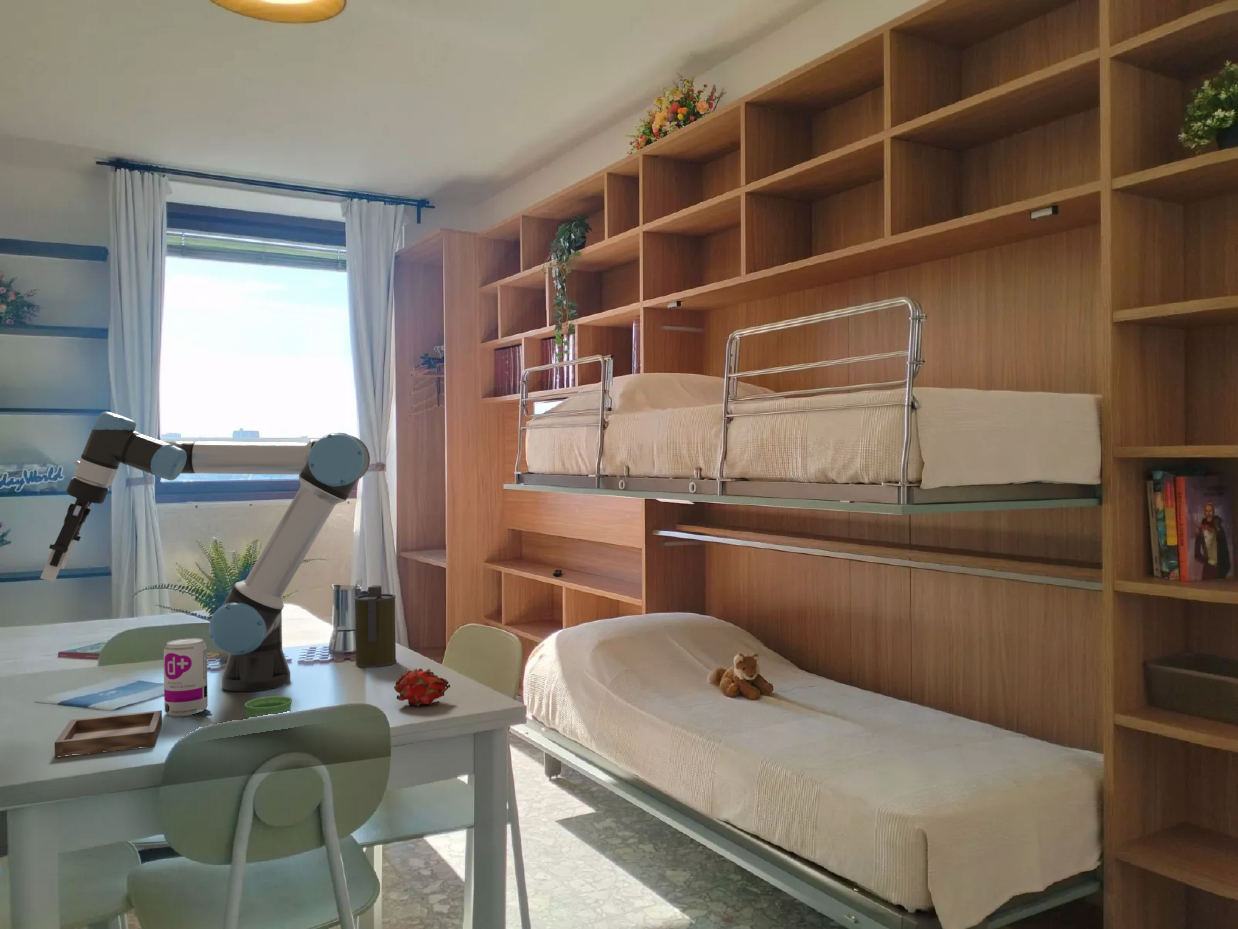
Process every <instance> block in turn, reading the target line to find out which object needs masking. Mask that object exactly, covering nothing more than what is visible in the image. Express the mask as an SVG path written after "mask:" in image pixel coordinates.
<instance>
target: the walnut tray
mask: <svg viewBox="0 0 1238 929" xmlns="http://www.w3.org/2000/svg"><path fill="white" fill-rule="evenodd" d="M162 726H163V710H151V711H142V712H132V713H123V714H112V715H103V716H95V717H83V718H76V719H70V720H69V721H68V723H67V725H66V726H65V727H64V729H63V730H62V731H61V733H60V734H59V735H58V737H57V739H56V740H55V741H54V758H55V757H58V756H65V755H72V754H87V755H89V754H88V753H96V754H98V753H97V752H103V751H113V752H117V751H116V750H121V751H125V750H124V749H130V750H134V749H133V748H138V749H140V748H139V747H147V748H153V747H156V744H157V740H158V737H159V735H160V732H161V729H162Z"/></svg>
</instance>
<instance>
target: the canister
mask: <svg viewBox="0 0 1238 929" xmlns="http://www.w3.org/2000/svg"><path fill="white" fill-rule="evenodd" d="M382 591H383V590H382V585H379V584H378V585H371V586H368V587H367V590H366V592H365V594H361V595H357V596H355V597H354V604H355V605H354V608H355V611H354V612H355V614H354V615H355V666H357V667H361V668H368V669H369V668H382V667H388V666H392V665H394V664H396V663H397V658H396V657H397V656H396V655H397V654H396V653H397V652H396V651H397V650H396V649H397V648H396V647H397V646H396V644H397V643H396V594H391V593H382Z"/></svg>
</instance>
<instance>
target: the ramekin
mask: <svg viewBox="0 0 1238 929" xmlns="http://www.w3.org/2000/svg"><path fill="white" fill-rule="evenodd" d="M292 703H293V700H292V698H291V697H288V696H286V695H285V696H284V695H271V696H270V695H269V696H263V697H258V698H253V699H250V700H247V702H245V703H244V709H245V714H246V719H247V718H249V717H257V716H263V715H268V714H278V713H283V712H287V711H290V712H291V710H292V709H291V708H292Z"/></svg>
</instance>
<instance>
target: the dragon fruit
mask: <svg viewBox="0 0 1238 929" xmlns="http://www.w3.org/2000/svg"><path fill="white" fill-rule="evenodd" d="M449 688H451V684H450V682H449V681H448V680H447V679H445V678H444V677H439V676H438V675H436V674H435V673H434V672H433V671H431V669H430V668H427V669H426V670H424V669H422V668H419V669H417V668H415V669H414V670H411V669H406V673H405V672H404V673H401V675H400V677H399V678H397V680H395V685H394V686H393V689H394V691H395V692H396V693H398V694H397V695H396V699H397V700H398V701H400V702H401V701H407V704H408V705H409V706H411V707H412V706H416V707H419V706H420V705H429V706H436V705H437V704H439V703H440V700H438V701H434V700H437V699H439V698H441V697H444V696H445V692H447V690H448V689H449Z"/></svg>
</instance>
